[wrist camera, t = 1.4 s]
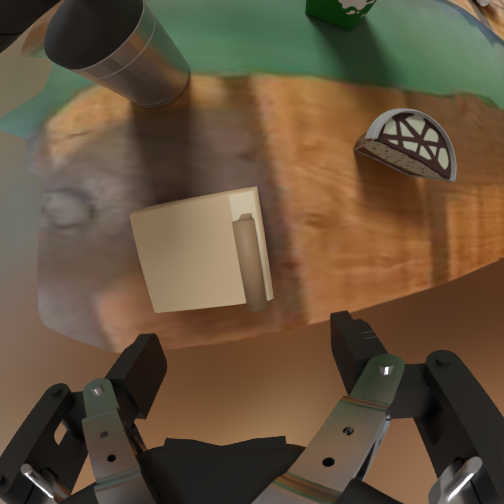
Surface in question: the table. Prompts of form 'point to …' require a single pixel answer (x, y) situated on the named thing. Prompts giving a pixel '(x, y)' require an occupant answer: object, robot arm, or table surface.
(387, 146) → the food container
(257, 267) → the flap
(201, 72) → the table surface
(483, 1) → the spread jar
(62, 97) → the table surface
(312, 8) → the milk carton
